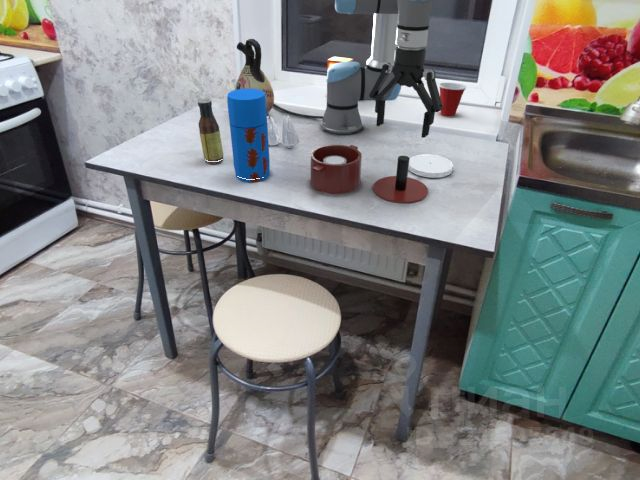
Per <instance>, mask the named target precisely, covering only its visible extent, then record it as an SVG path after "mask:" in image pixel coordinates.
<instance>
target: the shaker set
mask: <svg viewBox="0 0 640 480" xmlns="http://www.w3.org/2000/svg"><path fill="white" fill-rule="evenodd" d="M267 126H268V143H269V146H277V145H279V144H281V146H283V147H285V148H288V149H293V148H295V147H296V146H298V144H300V143H301V142H300V139H299V136H298V134H297V131H296V129H295V126H294V124H293V121H292V120H291V117H290V115H287V116H286V115H284V116H283V119H282V129H281V134H280V131H279V129H278V127H277V125H276V123H275V121H274V118H273V116H270V117H269V116H268V117H267Z"/></svg>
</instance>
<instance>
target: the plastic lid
mask: <svg viewBox="0 0 640 480" xmlns="http://www.w3.org/2000/svg"><path fill="white" fill-rule="evenodd" d="M409 158H410V160H409V168H408V172H409V171H410V172H411V173H412V174H415V175H417V176H419V177H424V178H429V179H430V178H433V179H434V178H435V179H438V178H440V179H441V178H445V177H447V176H449V175H451V174H452V173H453V170H454V164H453V162H452V161H451V160H450V159H449V158H446V157H444V156H441V155H437V154H432V153H431V154H429V153H428V154H427V153H423V154H416V155H413V156H411V157H409Z"/></svg>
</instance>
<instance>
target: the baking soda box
mask: <svg viewBox="0 0 640 480" xmlns="http://www.w3.org/2000/svg"><path fill="white" fill-rule="evenodd" d="M347 61H352V62H355V59H354V58H349V57H341V56H331V57H329V58H327V60H326V72H327V71H328V69H329V67H330V66H332V65H334V64H336V63H340V62H347Z"/></svg>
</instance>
